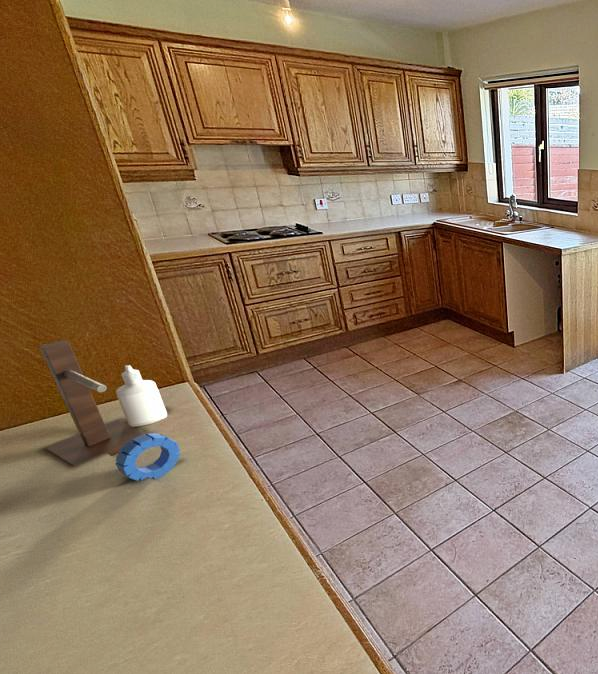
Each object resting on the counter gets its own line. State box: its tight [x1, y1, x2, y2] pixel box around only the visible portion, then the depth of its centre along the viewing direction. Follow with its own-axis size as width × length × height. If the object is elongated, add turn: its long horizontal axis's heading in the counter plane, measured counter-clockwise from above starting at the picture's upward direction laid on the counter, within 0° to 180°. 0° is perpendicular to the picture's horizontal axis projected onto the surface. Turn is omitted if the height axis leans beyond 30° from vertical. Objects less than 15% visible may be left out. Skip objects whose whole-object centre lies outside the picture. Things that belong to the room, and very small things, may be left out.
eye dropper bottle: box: [115, 364, 168, 428], centre depth 90 cm, size 4×6×12 cm
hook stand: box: [38, 339, 147, 467], centre depth 79 cm, size 16×10×20 cm, turn 66°
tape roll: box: [115, 432, 181, 482], centre depth 77 cm, size 2×7×7 cm
